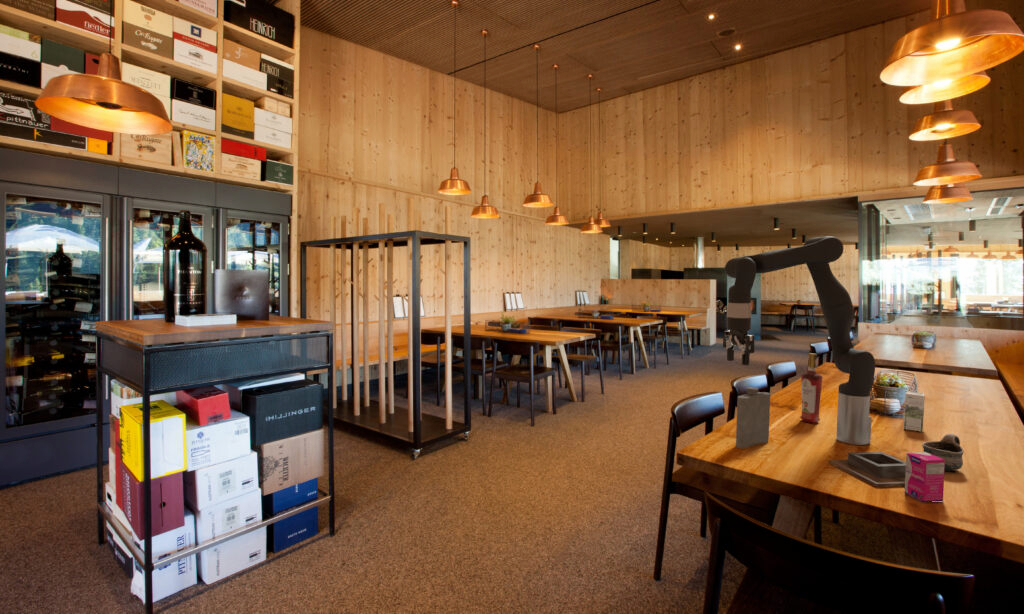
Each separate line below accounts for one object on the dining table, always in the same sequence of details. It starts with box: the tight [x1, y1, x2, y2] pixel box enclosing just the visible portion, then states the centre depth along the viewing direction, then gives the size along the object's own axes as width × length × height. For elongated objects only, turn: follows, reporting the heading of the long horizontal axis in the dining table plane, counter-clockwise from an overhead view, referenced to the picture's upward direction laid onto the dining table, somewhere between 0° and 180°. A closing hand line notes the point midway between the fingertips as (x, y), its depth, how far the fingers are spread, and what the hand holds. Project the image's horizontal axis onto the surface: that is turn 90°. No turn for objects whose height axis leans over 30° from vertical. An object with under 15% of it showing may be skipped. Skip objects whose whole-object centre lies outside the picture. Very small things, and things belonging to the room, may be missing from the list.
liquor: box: [799, 352, 823, 424], centre depth 197 cm, size 7×7×28 cm
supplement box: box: [904, 451, 946, 503], centre depth 128 cm, size 6×6×12 cm
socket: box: [828, 451, 906, 488], centre depth 144 cm, size 18×18×4 cm
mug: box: [922, 433, 965, 472], centre depth 149 cm, size 10×12×10 cm
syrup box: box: [903, 390, 926, 433], centre depth 187 cm, size 6×6×14 cm
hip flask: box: [735, 386, 771, 450], centre depth 169 cm, size 16×4×20 cm, turn 120°
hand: (737, 362), depth 167 cm, fingers open, 8 cm apart
